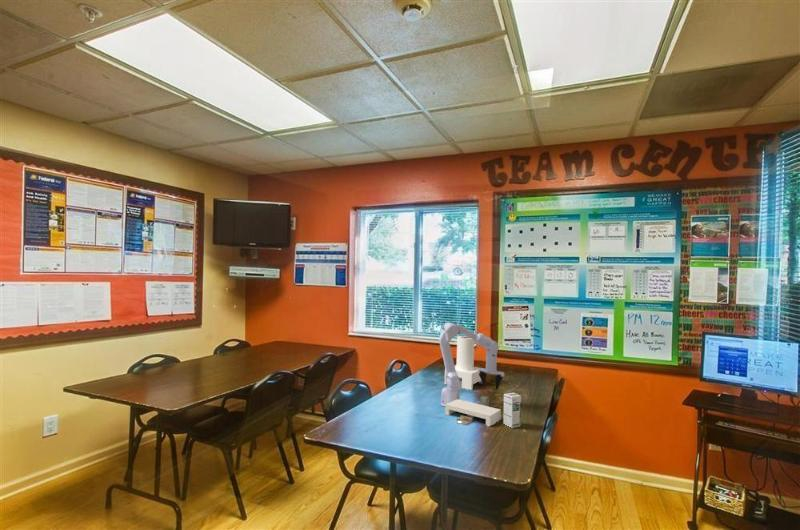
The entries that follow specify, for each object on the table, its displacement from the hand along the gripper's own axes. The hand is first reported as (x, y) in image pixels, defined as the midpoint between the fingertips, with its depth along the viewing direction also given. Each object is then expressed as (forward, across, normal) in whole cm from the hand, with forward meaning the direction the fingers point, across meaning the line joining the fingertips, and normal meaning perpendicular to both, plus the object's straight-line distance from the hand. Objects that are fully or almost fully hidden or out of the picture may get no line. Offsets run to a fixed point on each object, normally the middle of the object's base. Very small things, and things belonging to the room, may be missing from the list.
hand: (490, 387), depth 221 cm
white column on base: (+10, +31, -28) cm, 43 cm away
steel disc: (+10, -2, +34) cm, 35 cm away
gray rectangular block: (+9, -2, +20) cm, 22 cm away
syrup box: (+10, -21, +21) cm, 31 cm away
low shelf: (+9, -2, +24) cm, 26 cm away
